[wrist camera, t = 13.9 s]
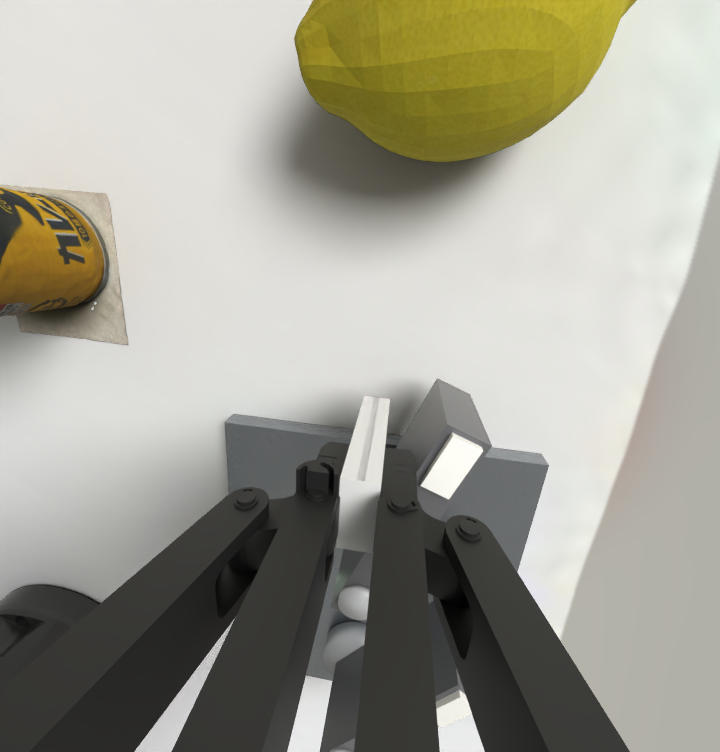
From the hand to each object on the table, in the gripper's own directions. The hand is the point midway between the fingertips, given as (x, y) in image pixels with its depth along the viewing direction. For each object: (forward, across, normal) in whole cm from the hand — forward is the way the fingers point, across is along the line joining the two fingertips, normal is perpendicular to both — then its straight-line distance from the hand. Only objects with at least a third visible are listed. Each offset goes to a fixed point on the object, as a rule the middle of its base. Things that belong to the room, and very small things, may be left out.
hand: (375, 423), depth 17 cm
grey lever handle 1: (+2, +1, -4) cm, 5 cm away
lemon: (+4, +2, +15) cm, 16 cm away
